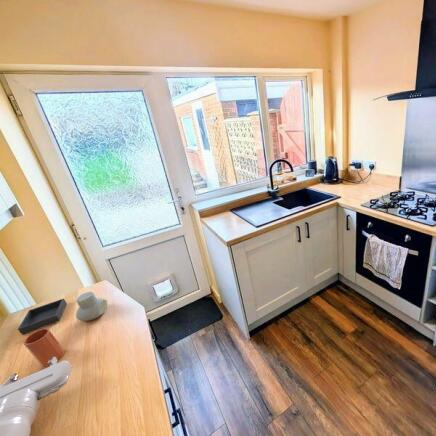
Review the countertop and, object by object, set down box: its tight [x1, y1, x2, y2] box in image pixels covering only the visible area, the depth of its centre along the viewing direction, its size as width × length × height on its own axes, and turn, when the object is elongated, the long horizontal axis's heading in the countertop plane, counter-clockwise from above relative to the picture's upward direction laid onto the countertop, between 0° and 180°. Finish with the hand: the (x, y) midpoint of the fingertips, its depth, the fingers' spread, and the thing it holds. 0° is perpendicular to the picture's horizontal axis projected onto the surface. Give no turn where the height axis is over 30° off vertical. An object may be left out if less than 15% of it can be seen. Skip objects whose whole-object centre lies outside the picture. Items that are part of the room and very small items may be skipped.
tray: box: [17, 298, 68, 336], centre depth 105 cm, size 12×12×3 cm
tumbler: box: [22, 327, 66, 367], centre depth 84 cm, size 6×6×11 cm
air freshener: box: [75, 291, 108, 322], centre depth 102 cm, size 11×8×10 cm
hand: (34, 367), depth 76 cm, fingers open, 8 cm apart
